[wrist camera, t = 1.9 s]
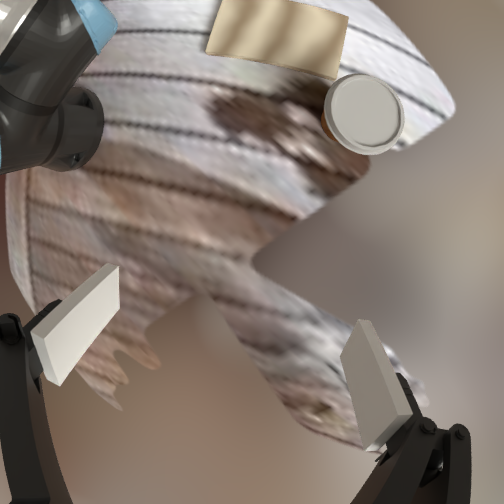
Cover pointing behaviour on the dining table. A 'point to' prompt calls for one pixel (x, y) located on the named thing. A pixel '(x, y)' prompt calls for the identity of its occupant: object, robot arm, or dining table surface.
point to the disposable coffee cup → (363, 114)
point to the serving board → (280, 35)
